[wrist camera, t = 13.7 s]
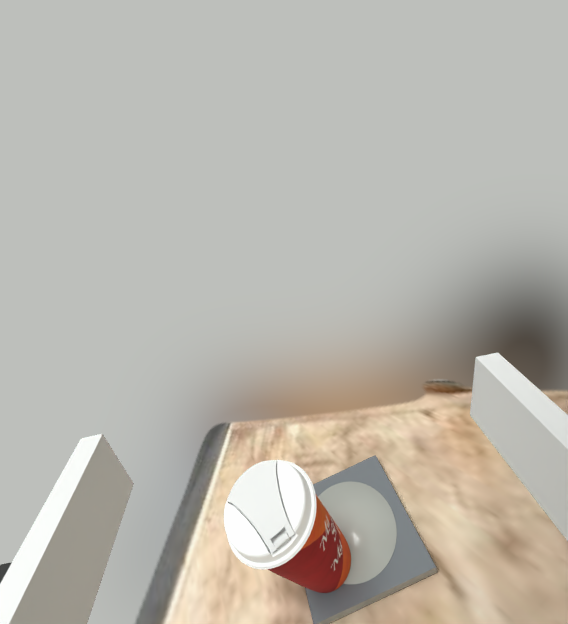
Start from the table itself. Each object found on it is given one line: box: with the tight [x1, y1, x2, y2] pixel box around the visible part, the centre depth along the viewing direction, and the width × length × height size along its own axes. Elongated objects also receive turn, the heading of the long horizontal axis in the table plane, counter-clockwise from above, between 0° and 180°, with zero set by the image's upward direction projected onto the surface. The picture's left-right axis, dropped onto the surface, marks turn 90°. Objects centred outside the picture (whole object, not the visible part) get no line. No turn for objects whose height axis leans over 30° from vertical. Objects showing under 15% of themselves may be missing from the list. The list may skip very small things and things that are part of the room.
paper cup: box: [224, 460, 351, 593], centre depth 30 cm, size 8×8×14 cm
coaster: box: [305, 455, 438, 624], centre depth 36 cm, size 12×12×1 cm
